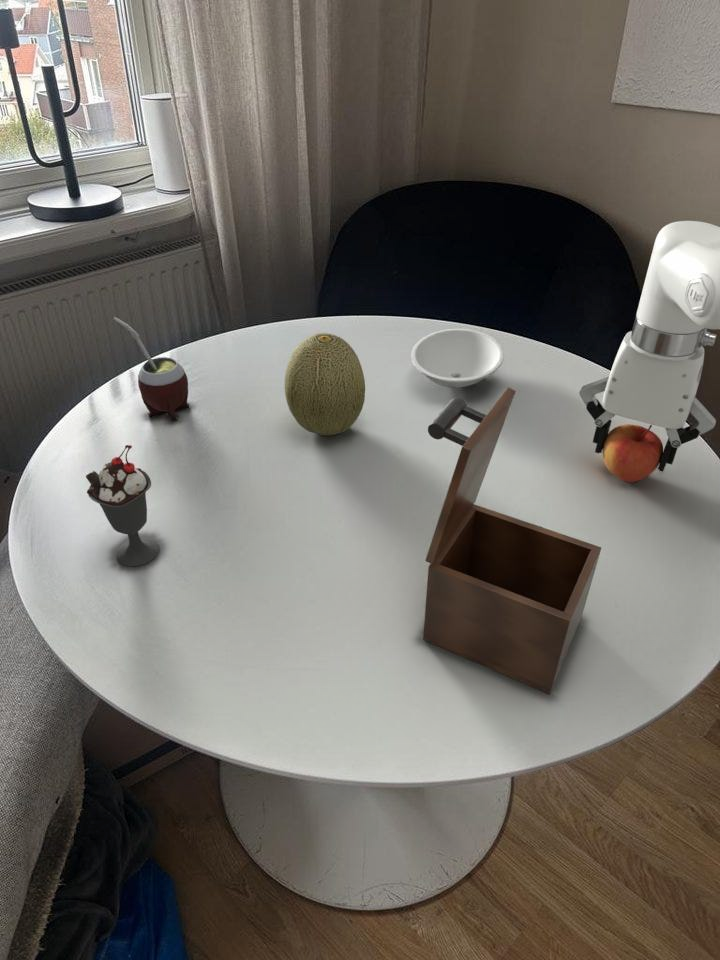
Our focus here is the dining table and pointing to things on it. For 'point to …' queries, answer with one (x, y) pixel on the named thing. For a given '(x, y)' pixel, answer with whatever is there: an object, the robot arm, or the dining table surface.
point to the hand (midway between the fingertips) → (630, 455)
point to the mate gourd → (161, 383)
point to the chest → (509, 595)
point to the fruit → (324, 384)
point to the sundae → (125, 507)
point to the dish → (457, 356)
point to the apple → (632, 452)
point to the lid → (465, 462)
